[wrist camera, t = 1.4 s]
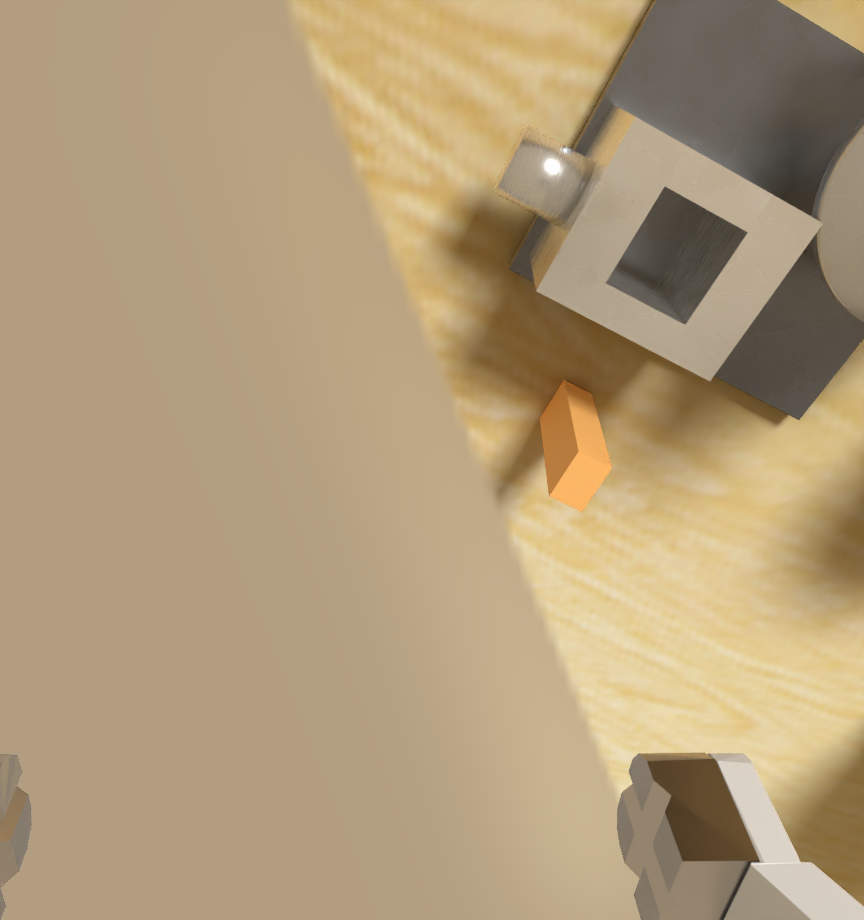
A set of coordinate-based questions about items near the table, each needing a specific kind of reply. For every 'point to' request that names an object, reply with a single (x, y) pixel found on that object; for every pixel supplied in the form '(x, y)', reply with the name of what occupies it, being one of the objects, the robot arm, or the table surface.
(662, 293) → the grey piece
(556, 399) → the orange rectangular bar
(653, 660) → the table surface
